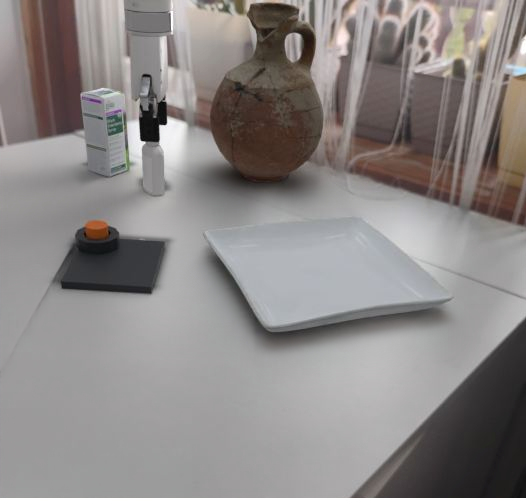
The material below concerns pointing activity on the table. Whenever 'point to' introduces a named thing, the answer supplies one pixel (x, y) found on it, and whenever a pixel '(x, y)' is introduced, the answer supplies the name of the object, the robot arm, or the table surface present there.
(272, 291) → the square plate
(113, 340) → the table surface
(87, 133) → the syrup box
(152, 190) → the eye dropper bottle
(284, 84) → the jug
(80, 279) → the dark grey button base
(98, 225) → the power button
